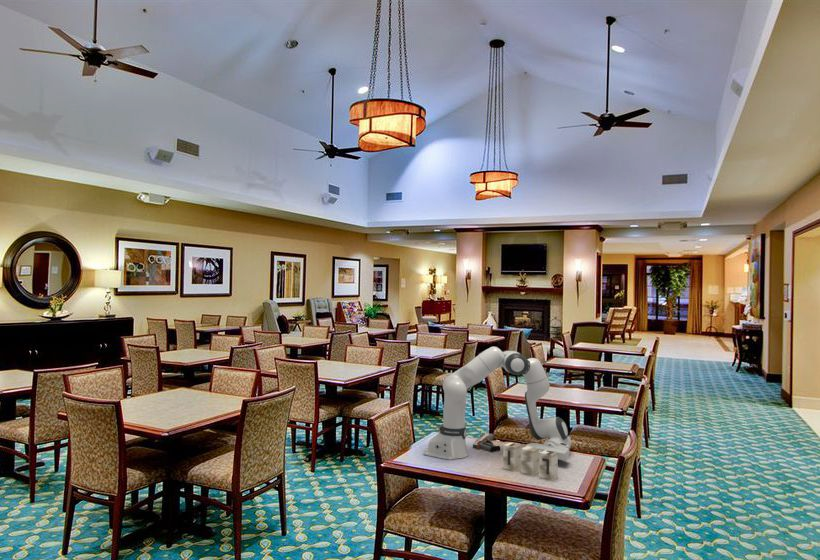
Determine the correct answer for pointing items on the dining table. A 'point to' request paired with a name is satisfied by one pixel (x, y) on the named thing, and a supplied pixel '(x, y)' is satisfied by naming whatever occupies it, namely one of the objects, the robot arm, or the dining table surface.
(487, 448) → the toy gun
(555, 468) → the block seven
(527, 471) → the plain block
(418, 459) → the dining table surface
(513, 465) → the block one
